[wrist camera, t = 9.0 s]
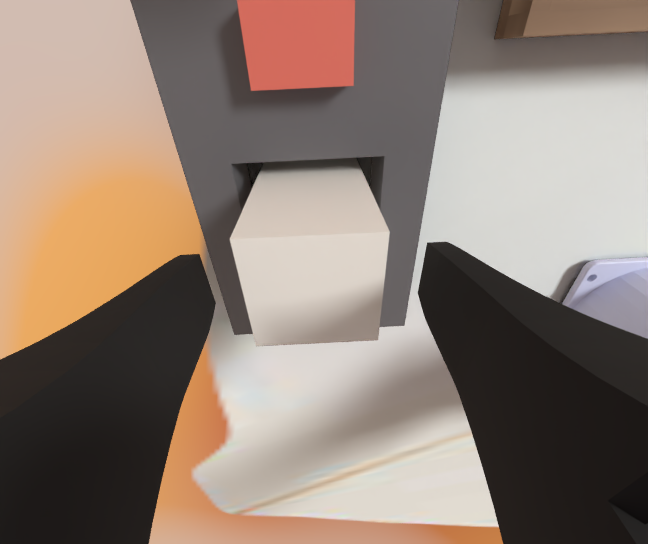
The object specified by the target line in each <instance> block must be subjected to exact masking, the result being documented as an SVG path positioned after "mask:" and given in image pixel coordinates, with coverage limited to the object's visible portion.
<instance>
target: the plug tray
mask: <svg viewBox="0 0 648 544" xmlns="http://www.w3.org/2000/svg"><path fill="white" fill-rule="evenodd" d="M635 32H648V0H503V4H502V8H501V13H500V17H499V21H498V26H497V30H496V34H495V38H494V39H509V38H530V37H551V36H572V35H593V34H614V33H635Z"/></svg>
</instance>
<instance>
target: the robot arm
mask: <svg viewBox="0 0 648 544" xmlns="http://www.w3.org/2000/svg"><path fill="white" fill-rule="evenodd" d="M418 295H419V299H420V302H421V306H422V309H423V313H424V316H425V319H426V321H427V324H428V326H429V328H430V330H431V333H432V335H433V337H434V339H435V341H436V344H437V346H438V348H439V350H440V352H441V354H442V357H443V359H444V361H445V363H446V365H447V367H448V370H449V372H450V374H451V376H452V378H453V381H454V383H455V385H456V388H457V390H458V393H459V395H460V398H461V401H462V404H463V407H464V410H465V413H466V416H467V419H468V422H469V425H470V428H471V431H472V434H473V438H474V441H475V444H476V447H477V450H478V454H479V457H480V460H481V463H482V467H483V470H484V474H485V477H486V481H487V484H488V488H489V491H490V495H491V498H492V502H493V505H494V509H495V513H496V517H497V521H498V525H499V529H500V532H501V536H502V540H503V544H648V257H641V258H622V259H603V260H593V261H590V262H588V263H586V264H585V265H584V266H583V268H582V270H581V271H580V273H579V275H578V277H577V278H576V280H575V282H574V284H573V285H572V287H571V289H570V291H569V292H568V294H567V296H566V298H565V299H564V301H563V303H562V304H560V303H558V302H556V301H554V300H552V299H550V298H548V297H545V296H543V295H541V294H540V293H538V292H536V291H534V290H532V289H530V288H528V287H526V286H524V285H522V284H520V283H518V282H517V281H515V280H513V279H511V278H509V277H508V276H506V275H504V274H502V273H501V272H499V271H497V270H495V269H494V268H492V267H490V266H489V265H487V264H485V263H483V262H482V261H480V260H478V259H477V258H475V257H473V256H472V255H470V254H468V253H467V252H465V251H463V250H461V249H460V248H458V247H456V246H454V245H452V244H450V243H448V242H433V243H427V247H426V252H425V258H424V263H423V268H422V274H421V279H420V284H419V290H418ZM215 304H216V303H215V300H214V297H213V294H212V291H211V288H210V285H209V282H208V279H207V276H206V273H205V270H204V267H203V264H202V261H201V258H200V255H199V254H192V255H180V256H178V257H176V258H174V259H172V260H171V261H169V262H167V263H166V264H164V265H163V266H161V267H159V268H158V269H157V270H155V271H153V272H152V273H151V274H149V275H148V276H146V277H145V278H143V279H142V280H140V281H139V282H137V283H136V284H134V285H133V286H131V287H130V288H128V289H127V290H126V291H124V292H122V293H121V294H119V295H118V296H116V297H114V298H113V299H111V300H110V301H108V302H107V303H105V304H103V305H102V306H100V307H99V308H97V309H95V310H94V311H92V312H90V313H89V314H87V315H86V316H84V317H82V318H80V319H79V320H77V321H75V322H73V323H72V324H70V325H68V326H67V327H65V328H63V329H61V330H59V331H57V332H55V333H53V334H52V335H50V336H48V337H46V338H44V339H42V340H40V341H39V342H36V343H34V344H32V345H30V346H28V347H26V348H24V349H22V350H20V351H18V352H16V353H13V354H11V355H9V356H7V357H5V358H3V359H1V360H0V544H148V543H149V539H150V533H151V528H152V522H153V518H154V513H155V508H156V504H157V499H158V494H159V490H160V485H161V481H162V476H163V472H164V468H165V464H166V460H167V456H168V452H169V448H170V443H171V439H172V436H173V432H174V429H175V425H176V421H177V418H178V414H179V410H180V407H181V404H182V401H183V398H184V395H185V393H186V390H187V387H188V385H189V382H190V380H191V377H192V375H193V372H194V370H195V367H196V364H197V362H198V359H199V357H200V354H201V352H202V349H203V346H204V344H205V341H206V339H207V336H208V333H209V330H210V326H211V322H212V318H213V313H214V309H215Z"/></svg>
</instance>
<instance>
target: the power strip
mask: <svg viewBox="0 0 648 544" xmlns="http://www.w3.org/2000/svg"><path fill="white" fill-rule="evenodd" d="M130 1H131V3H132V7H133V10H134V13H135V16H136V20H137V23H138V26H139V29H140V33H141V36H142V39H143V42H144V45H145V49H146V52H147V55H148V58H149V62H150V65H151V68H152V71H153V74H154V78H155V81H156V84H157V87H158V91H159V94H160V97H161V100H162V103H163V106H164V110H165V113H166V116H167V119H168V123H169V126H170V129H171V132H172V136H173V138H174V142H175V145H176V148H177V152H178V155H179V158H180V161H181V164H182V167H183V171H184V174H185V177H186V180H187V184H188V187H189V190H190V193H191V196H192V200H193V203H194V206H195V209H196V212H197V215H198V219H199V222H200V225H201V229H202V232H203V235H204V238H205V242H206V245H207V248H208V251H209V254H210V258H211V261H212V264H213V267H214V270H215V274H216V277H217V280H218V283H219V287H220V290H221V293H222V296H223V299H224V303H225V306H226V309H227V312H228V315H229V319H230V322H231V325H232V328H233V332H234V335H240V334H253V332H252V328H251V324H250V320H249V316H248V312H247V308H246V303H245V299H244V295H243V291H242V287H241V283H240V279H239V275H238V271H237V267H236V263H235V259H234V255H233V251H232V247H231V243H230V237H231V235H232V233H233V231H234V228H235V226H236V224H237V222H238V219H239V217H240V215H241V213H242V210H243V208H244V206H245V204H246V201H247V199H248V197H249V195H250V192H251V190H252V188H251V183H250V177H249V172H248V167H247V163H257V162H277V161H297V160H317V159H337V158H357V157H372V165H371V183H370V190H371V192H372V194H373V196H374V198H375V201H376V203H377V205H378V207H379V209H380V212H381V214H382V216H383V218H384V220H385V222H386V225H387V227H388V229H389V231H390V234H389V243H388V253H387V262H386V271H385V280H384V289H383V299H382V308H381V317H380V326H379V327H387V326H404V324H405V318H406V313H407V307H408V301H409V295H410V289H411V283H412V277H413V271H414V265H415V259H416V253H417V247H418V241H419V235H420V229H421V223H422V217H423V211H424V205H425V199H426V193H427V187H428V181H429V175H430V169H431V164H432V158H433V152H434V146H435V140H436V134H437V128H438V122H439V116H440V110H441V104H442V98H443V92H444V86H445V80H446V74H447V68H448V62H449V56H450V50H451V44H452V38H453V32H454V26H455V21H456V15H457V9H458V3H459V0H130Z"/></svg>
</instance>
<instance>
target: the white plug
mask: <svg viewBox="0 0 648 544" xmlns="http://www.w3.org/2000/svg"><path fill="white" fill-rule="evenodd" d="M389 234H390V231H389V229H388V227H387V225H386V222H385V220H384V218H383V216H382V214H381V212H380V209H379V207H378V205H377V203H376V201H375V198H374V196H373V194H372V192H371V190H370V187H369V185H368V183H367V181H366V179H365V176H364V174H363V172H362V170H361V168H360V165H359V163H358V161H357V159H356V158H337V159H317V160H297V161H277V162H264V163H263V165H262V168H261V170H260V172H259V174H258V177H257V179H256V181H255V183H254V186H253V188H252V190H251V192H250V195H249V197H248V199H247V201H246V204H245V206H244V208H243V210H242V213H241V215H240V217H239V219H238V222H237V224H236V226H235V228H234V231H233V233H232V235H231V237H230V243H231V247H232V251H233V255H234V259H235V263H236V267H237V271H238V275H239V279H240V283H241V287H242V291H243V295H244V299H245V303H246V308H247V312H248V316H249V320H250V324H251V328H252V332H253V336H254V340H255V344H256V346H271V345H291V344H311V343H331V342H351V341H371V340H378V335H379V326H380V317H381V308H382V299H383V289H384V280H385V271H386V262H387V253H388V243H389Z"/></svg>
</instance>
